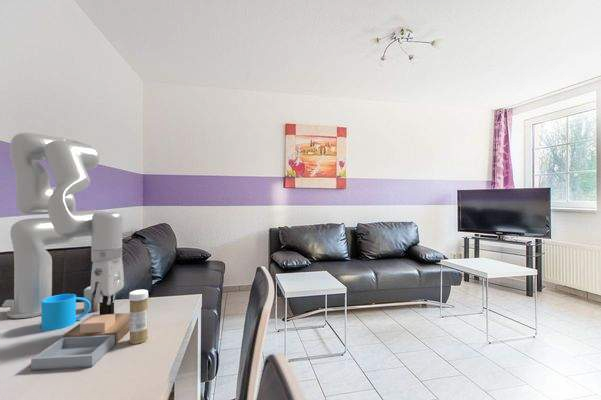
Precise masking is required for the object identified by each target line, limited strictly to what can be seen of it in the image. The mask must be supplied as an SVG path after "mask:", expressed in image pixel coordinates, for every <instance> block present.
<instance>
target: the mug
mask: <svg viewBox="0 0 601 400" xmlns="http://www.w3.org/2000/svg"><path fill="white" fill-rule="evenodd" d="M77 300H78V301H82V302H83V303H84V302H85V303H86V304H87V309H86V310H85V312H84V311H83V313H82V314H79V315H77ZM90 307H91V305H90V302H89V301H88V300H87V299H85V298H84V297H79V296H77V295H76V294H74V293H61V294H57V295H52V296H51V297H48V298H45V299H43V300H42V301H41V315H40V316H41V317H40V318H41V321H40V323H41V324H40V325H41V327H40V328H41V331H42V330H43V331H48V332H49V331H57V330H63V329H65V328H68V327H70V326H72V325H74V324H75V323H76V321H77V320H79V319H82V318H83V317H85V316H86V315H87V314H88V313H89V312H88V311H89V310H90Z"/></svg>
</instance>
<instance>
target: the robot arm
mask: <svg viewBox="0 0 601 400" xmlns="http://www.w3.org/2000/svg"><path fill="white" fill-rule="evenodd" d="M9 157H10V161H11V162H12V166H13V169H14V172H15V193H16V194H15V199H16V200H15V201H16V207H17V210H18V211H19V213H22V214H25V215H48V217H40V218H39V217H38V218H37V217H36V218H35V217H34V218H25V219H21V220H18V221H16V222H14V223H13V224H12V225H11V227H10V232H9V233H10V240H11V245H12V249H13V250H12V251H13V256H14V257H13V260H14V261H13V262H14V263H13V264H14V265H13V266H14V267H13V268H14V269H13V270H14V272H13V274H14V275H13V277H14V279H13V284H14V285H13V299H6V300H5V301H4V302H3V304H2V305H1V308H9V309H10V310H9V311H8V312H7V318H10V319H26V318H33V317H38V316H41V301H42V300H43V299H45V298H48V297H51V296H53V295H52V294H53V259H52V255H51V254H50V253H49V251H48V250H47V249H45V247H44V246H50V245H51V246H52V245H58V244H60V245H61V244H66V243H69V242H71V241H72V240H74V238H81V237H82V238H83V237H91V242H90V243H91V247H90V248H91V250H90V251H91V262H92V266H91V273H90V274H91V275H90V286H91V296H92V297H95V303H99V306H100V310H99V314H100V315H106V314H115V301H116V293H118V292H119V291H120V290H122V289H123V288H124V285H125V281H124V280H125V278H124V274H125V273H124V263H123V215H122V214H121V213H120V212H117V211H103V210H78V211H77V207H76V206H77V203H76V198H75V194H77V193H80V192H82V191H83V190H85V189H87V188H89V186H90V184H91V178H90V176H89V174H88V171H87V170H93V169H96V168H97V166H98V165H99V162H100V155H99V153H98V151H97V150H96V148H95V147H93V146H92V145H90V144H87V143H84V142H80V141H78V140H77V141H76V140H74V139H70V138H62V137H57V136H52V135H47V134H42V133H41V134H40V133H33V132H20V133H17V134H15V135H14V136H13V137H12V139H11V141H10V144H9ZM41 161H46V162H47V164H48V166H49V169H50V171H51V174H52V176H53V179H54V182H55V184H56V187H54V186H52V187H51V183H50V182H51V181H50V179H51V178H50V173H49V171H48V169H47V168H46V166H45V165H44V164H43V163H42V162H41Z"/></svg>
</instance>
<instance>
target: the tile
mask: <svg viewBox="0 0 601 400" xmlns="http://www.w3.org/2000/svg"><path fill="white" fill-rule="evenodd" d="M115 314H116V313H114V314H106V315H93V314H91V315H90V316H89V317H87V318H88V319H87V318H86V319H84V320H85V321H84V320H82V323H81V322H80V323H81V324H80V323H79V324H80V333H95V332H105V331H106V330H107V329H109V328H110V327H111V326H112V325H113V324H114V323H115Z"/></svg>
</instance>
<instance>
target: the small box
mask: <svg viewBox="0 0 601 400" xmlns="http://www.w3.org/2000/svg"><path fill="white" fill-rule="evenodd" d="M83 298H85V299H87V300H88V301H89V302H90V305H91V307H90V310H89V311H88V313H92V312H93V313H94V312H100V306H99V303H95V297H92V296H91V285H90V286H87V287H86V288H84V289H83ZM86 309H87V304H86V303H85V302H84V301H83V313H84V312H85V310H86Z"/></svg>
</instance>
